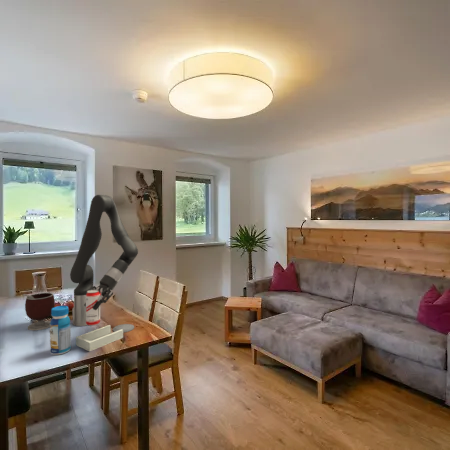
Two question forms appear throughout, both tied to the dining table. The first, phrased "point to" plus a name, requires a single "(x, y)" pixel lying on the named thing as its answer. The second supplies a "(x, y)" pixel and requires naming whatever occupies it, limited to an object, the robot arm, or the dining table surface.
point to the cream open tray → (89, 345)
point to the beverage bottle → (60, 331)
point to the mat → (124, 327)
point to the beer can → (92, 314)
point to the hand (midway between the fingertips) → (89, 307)
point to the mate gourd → (39, 309)
